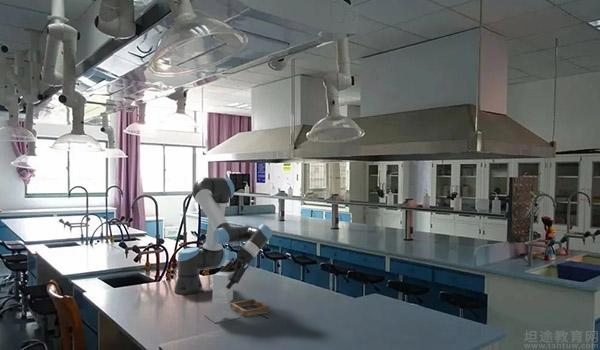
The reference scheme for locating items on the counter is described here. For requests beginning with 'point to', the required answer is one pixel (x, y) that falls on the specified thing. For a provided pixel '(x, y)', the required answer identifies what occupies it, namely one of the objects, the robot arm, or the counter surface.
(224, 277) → the supplement box
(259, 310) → the crate
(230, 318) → the mat
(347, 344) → the counter surface
